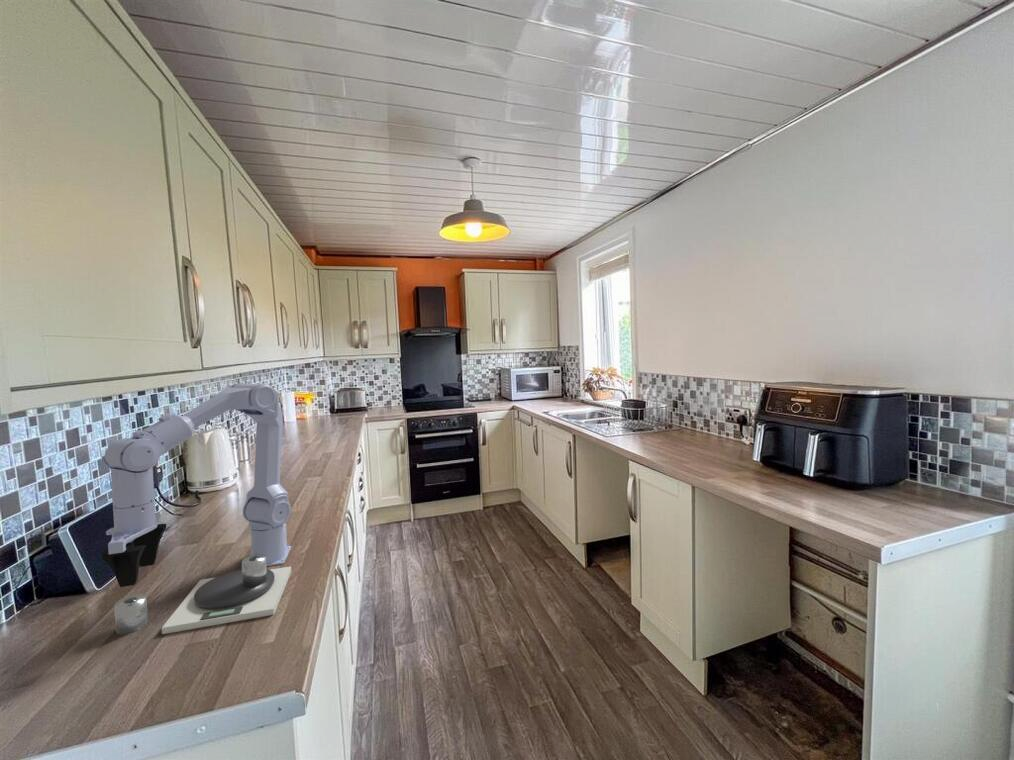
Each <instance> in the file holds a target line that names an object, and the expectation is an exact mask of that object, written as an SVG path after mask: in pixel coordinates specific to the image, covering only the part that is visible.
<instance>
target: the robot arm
mask: <svg viewBox="0 0 1014 760" xmlns="http://www.w3.org/2000/svg"><path fill="white" fill-rule="evenodd" d="M279 401H280V393H279V392H278V390H276V389H275V388H274V387H273V386H271V385H270V384H267V383H257V384H256V383H253V384H251V383H248V384H247V383H242V382H241V383H240V382H237V383H234V384H231V385H230V386H229V387H225V388H222V389H221V390H220V392H218V393H217V394H215V395H214V396H212V397H210V398H209V399H207V400H206V401H204V402H202V403H201V404H199V405H198V406H196V407H194V408H192V409H191V410H189V411H187V412H186V413H185V414H182V415H179V414H169V415H168V414H164V415H162V416H160V417H158V421H157V422H155V423H154V424H152V425H150V426H148V427H146V428H144V429H142V430H141V429H139V430H136V431H133V432H132V436H131V438H130V437H125V438H119V439H116V440H115V441H112V443H110V444H109V445H108V448H106V450H105V452H104V455H101V461H102V463H103V465H104V466H106V467H107V468H108V469H109V470H110V476H111V477H110V478H111V482H110V483H111V496H112V511H113V513H112V514H113V527H110V528H109V529H107V530H106V531H105V535H106V536H111V540H110V541H109V542H108V543H107V548H105V549H104V550H103V551H101V553H100V557H101V560H103V561H104V562H105V563H106V564H107V565H108V566H109V567H110V568H111V570H112V572H113V574H114V576H115V579H116V581H117V583H118V585H119V587H120V588H124V587H130V586H135V585H136V584H137V583H138V578H139V571H140V570H139V569H140V568H141V567H142V568H143V567H149V566H154V564H155V563H156V560H157V556H158V549H159V546H160V542H161V539H162V538H163V534H164V533H165V530H166V529H167V523H159V522H160V517H159V516H160V514H159V512H156V504H155V503H156V501H155V484H154V482H155V481H154V467H155V466H156V465H157V463H158V462H159V461H160V458H161V456H162V455H164V454H166V453H167V452H170V451H171V450H173V449H174V448H176V447H177V446H180V445H181V444H182V443H184V442H185V441H187V440H189V439H191V438H192V437H193V434H194V431H195V429H196V428H197V427H200V426H201V425H204V424H205V423H208V422H209V421H211V420H213V419H215V418H217V417H219V416H221V415H222V414H224V413H227V412H228V411H231V410H233V411H234V410H235V411H237V412H241V413H243V414H246V415H247V416H248V417H249V418H251V419H252V420H253V421H254V422H256V430H255V453H254V456H255V457H254V458H255V459H254V481H253V482H254V483H253V484H254V485H253V487H252V488H251V489H250V490H249V491H248V492H247V493H246V498H245V499H246V500H245V502H244V505H243V506H242V507H243V508H242V516H243V519H244V520H246V521H248V526H250V544H251V555H255V554H264V555H266V565H267V567H270V566H278V565H284V564H285V562H286V560H287V558H288V555H289V554H290V551H291V549H292V545H288V540H287V537H288V535H287V520H288V519H289V517H290V515H291V511H292V507H291V506H292V505H291V503H290V501H289V493H288V491H287V490H286V489H285V488H284V486H282V485H281V462H282V435H283V434H282V433H283V412H282V409H281V406H280V403H279Z"/></svg>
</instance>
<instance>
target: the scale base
mask: <svg viewBox="0 0 1014 760" xmlns="http://www.w3.org/2000/svg"><path fill="white" fill-rule="evenodd" d="M269 570H271V571H272V572H273V573H274V578H275V579H274V583H273V585H272V586H271V587H270V588H269V589H268V590H267V591H266V592H264V593H263V594H261V595H260V596H258V597H256V598H254V599H252V600H249V601H247V602H244V603H242V604H238V605H235V606H231V607H226V608H220V609H204V608H200V607H198V606H197V605H196V604H195V603H194V594H195V592H196V591H197V590H198V589H199V588H200V587H201V586H202V585H204V584H205V583H207V582H208V581H210V580H212V579H214V578H215V577H211V578H210V577H209V578H202V579H200V580H199V581H198V582H197V584H196V585H194V587H193V588H192V589H191V591H190V592H189V593H188V595H187V596H186V597H184V599H183V601H182V602H181V603H180V605H179V606H178V607H177V608H176V609H175V611H174V612H173V613H172V614H171V616H170V617H169V618H168V619H167V621H166V622H164V624H163V626H162V627H161V634H162V635H165V634H172V633H177V632H184V631H188V630H189V631H190V630H194V629H199V628H205V627H206V628H207V627H210V626H211V627H212V626H217V625H223V624H228V623H234V622H240V621H246V620H251V619H257V618H263V617H268V616H274V615H275V613H276V610H277V608H278V606H279V603H280V600H281V598H282V596H283V594H284V591H285V589H286V585H287V584H288V580H289V578H290V576H291V573H292V566H285V567H278V568H271V569H269Z"/></svg>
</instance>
